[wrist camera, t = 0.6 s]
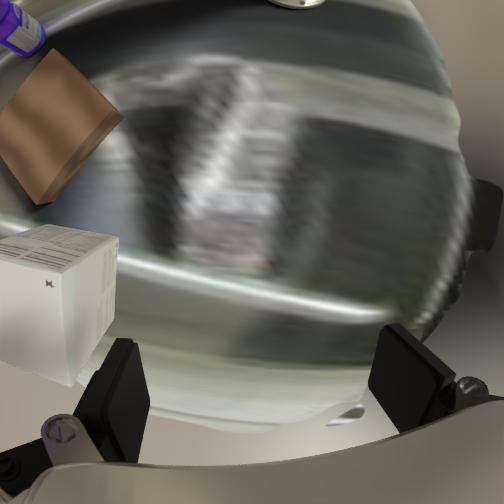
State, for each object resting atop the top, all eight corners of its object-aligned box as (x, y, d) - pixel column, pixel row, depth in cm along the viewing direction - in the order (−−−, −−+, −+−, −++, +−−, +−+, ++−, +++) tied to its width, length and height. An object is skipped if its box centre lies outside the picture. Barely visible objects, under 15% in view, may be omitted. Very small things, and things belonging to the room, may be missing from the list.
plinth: (67, 58, 30) (53, 47, 26) (124, 117, 34) (112, 109, 29) (5, 137, 32) (-13, 135, 27) (54, 201, 36) (36, 204, 31)
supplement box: (45, 221, 36) (-31, 247, 19) (121, 235, 38) (62, 273, 21) (45, 302, 39) (-14, 355, 22) (115, 320, 41) (72, 390, 24)
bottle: (51, 44, 29) (-6, 2, 12) (25, 65, 29) (-37, 34, 12) (43, 20, 27) (-7, -21, 10) (18, 41, 27) (-36, 8, 10)
